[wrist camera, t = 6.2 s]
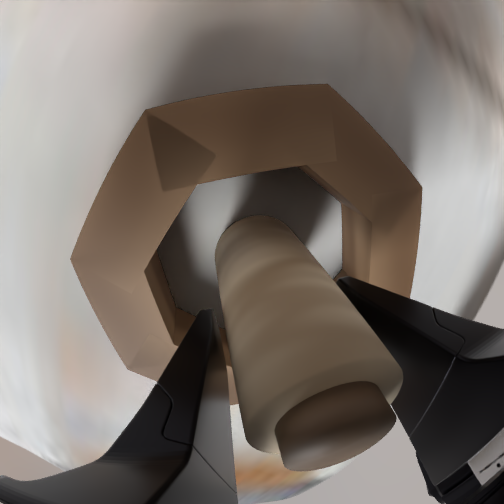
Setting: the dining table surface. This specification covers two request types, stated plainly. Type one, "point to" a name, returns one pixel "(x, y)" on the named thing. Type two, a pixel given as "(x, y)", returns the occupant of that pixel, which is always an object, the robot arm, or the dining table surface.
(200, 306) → the dining table surface
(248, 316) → the beige wooden peg
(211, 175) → the brown octagonal ring
